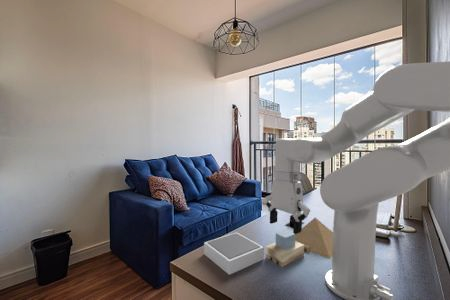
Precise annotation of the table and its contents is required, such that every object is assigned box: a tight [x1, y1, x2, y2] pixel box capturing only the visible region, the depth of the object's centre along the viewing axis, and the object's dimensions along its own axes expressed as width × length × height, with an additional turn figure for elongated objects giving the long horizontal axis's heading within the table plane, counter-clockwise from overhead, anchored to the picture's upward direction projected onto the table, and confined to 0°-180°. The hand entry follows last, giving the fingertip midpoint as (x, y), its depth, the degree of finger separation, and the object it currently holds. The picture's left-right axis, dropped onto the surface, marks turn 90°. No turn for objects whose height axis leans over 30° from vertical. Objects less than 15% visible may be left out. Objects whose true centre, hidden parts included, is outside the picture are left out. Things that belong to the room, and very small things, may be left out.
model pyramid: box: [295, 217, 333, 259], centre depth 83 cm, size 17×17×10 cm
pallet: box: [265, 241, 305, 268], centre depth 73 cm, size 7×11×4 cm, turn 126°
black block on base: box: [284, 214, 305, 229], centre depth 101 cm, size 12×7×5 cm, turn 137°
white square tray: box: [203, 232, 265, 276], centre depth 73 cm, size 14×14×4 cm
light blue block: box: [275, 229, 295, 250], centre depth 73 cm, size 4×5×4 cm
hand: (284, 227), depth 73 cm, fingers open, 9 cm apart
